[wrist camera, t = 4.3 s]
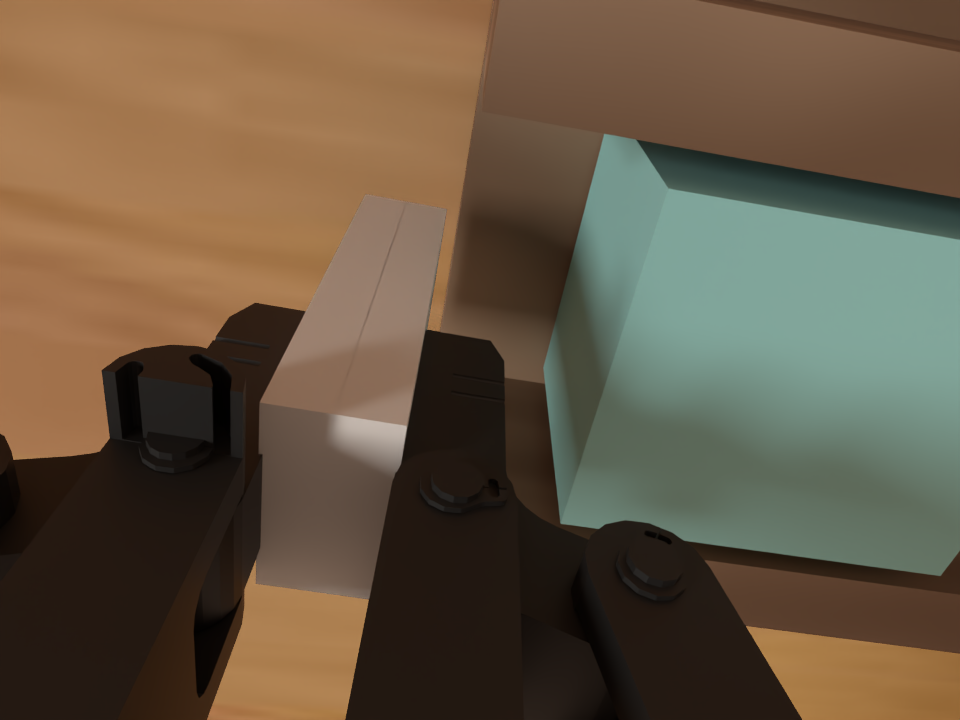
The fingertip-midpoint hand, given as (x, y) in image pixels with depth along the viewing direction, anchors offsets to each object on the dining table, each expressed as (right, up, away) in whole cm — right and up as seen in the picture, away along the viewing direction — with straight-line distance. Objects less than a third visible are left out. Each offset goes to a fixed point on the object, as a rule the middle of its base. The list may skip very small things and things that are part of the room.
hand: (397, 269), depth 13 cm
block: (+7, 0, +2) cm, 7 cm away
